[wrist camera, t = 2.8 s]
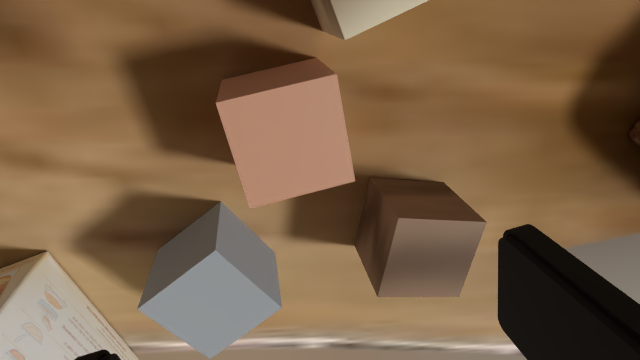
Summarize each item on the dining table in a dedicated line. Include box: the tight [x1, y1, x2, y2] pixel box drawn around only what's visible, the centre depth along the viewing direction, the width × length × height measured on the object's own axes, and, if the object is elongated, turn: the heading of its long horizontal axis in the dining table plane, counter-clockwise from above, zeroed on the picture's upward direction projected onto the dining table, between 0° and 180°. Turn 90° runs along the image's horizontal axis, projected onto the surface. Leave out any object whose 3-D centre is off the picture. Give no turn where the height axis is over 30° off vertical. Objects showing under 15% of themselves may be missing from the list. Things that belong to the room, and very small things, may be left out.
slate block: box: [138, 202, 282, 359], centre depth 26 cm, size 6×6×6 cm
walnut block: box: [355, 177, 487, 297], centre depth 28 cm, size 6×6×6 cm
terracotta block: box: [216, 58, 355, 209], centre depth 23 cm, size 6×6×6 cm
